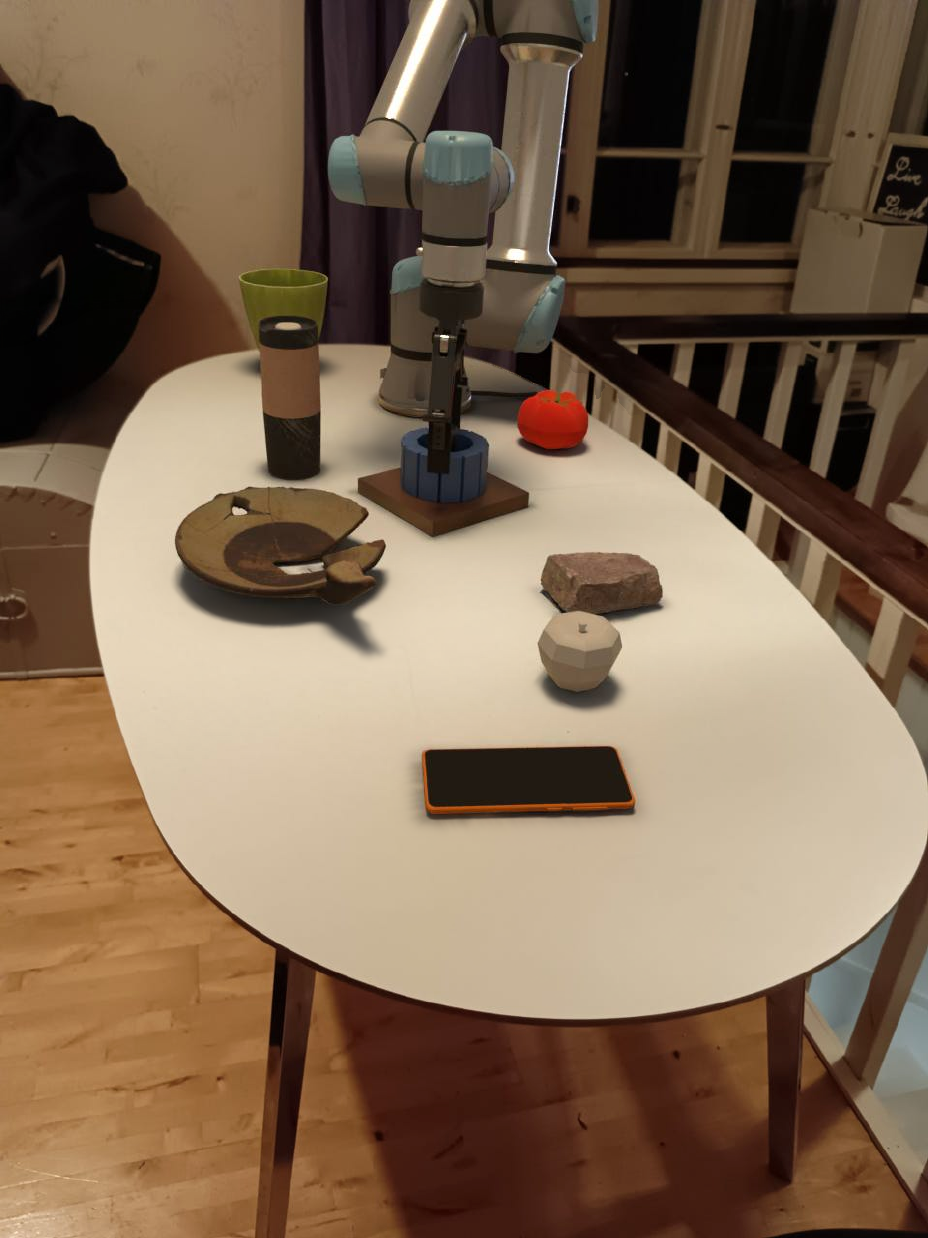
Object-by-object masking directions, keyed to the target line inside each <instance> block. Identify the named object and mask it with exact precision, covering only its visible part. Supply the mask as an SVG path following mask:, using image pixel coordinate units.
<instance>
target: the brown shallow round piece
mask: <svg viewBox="0 0 928 1238" xmlns="http://www.w3.org/2000/svg"><path fill="white" fill-rule="evenodd" d="M234 508H237V509H238V510H240V509H242V510H244V511H245V512H246V513H244V514H234V513H233V509H234ZM369 515H370V512H369V510H368V509H367V508H366V507H365V506H362V505H360V504H359V503H358V502H356V501H354V500H352V499H351V498H347V497H343V496H342V495H339V494H337V493H335V492H333V491H327V490H322V489H317V488H308V487H307V488H306V487H303V488H301V487H293V486H290V487H285V486H274V487H273V486H272V487H271V486H267V487H256V486H247V487H245V488H243V489H239V490H237V491H235V492H232V491H231V492H227V493H222V492H220V493H217V494H216V495H215V496H213V498H212V499H211V500H209V501H207V502H205V503H203V504H201V505H199V506H198V507H196V508H195V509H193V510H192V511H191V512H189V513H187V515H186V516H185V517H184V518H183V519H182V520H181V522H180V524H179V525H178V527H177V529H176V531H175V535H174V546H175V551H176V554H177V556H178V558H179V559H180V561H181V563H182V564H183V566H185V567H186V569H187V570H188V571H189V572H190V573H191V574H192V575H193V576H195V577H197V578H198V579H199V580H201V581H202V582H204V583H206V584H208V585H211V586H213V587H215V588H217V589H221V590H224V591H226V592H227V591H228V592H231V593H234V594H238V595H239V594H240V595H244V596H245V595H246V596H251V597H259V598H282V599H283V598H284V599H285V598H286V599H288V598H291V599H292V598H294V599H296V598H297V599H301V598H318V599H320V600H322V601H324V602H325V603H327V604H329V605H331V606H342V605H345V604H349V602H351V601H352V600H354V599H355V598H357V597H359V596H361V595H363V594H365V593H366V592H368V591H370V590H371V589H372V588H374V587H375V586H376V585H377V581H376V579H375V578H374V577H373V576H371V575H367V573H369V572H370V571H372V570H373V569H374V568H375V567H376V566H377V565H378V564H379V562H380V561H381V559H382V558H383V556H384V554H385V550H386V548H387V544H386V542H385V540H384V539H383V538H382V539H377V540H374V541H371V542H368V541H367V542H366V543H364V544H362V545H358V546H353V547H350V548H347V549H344V550H339V551H336V552H332V553H330V552H331V551H333V550H334V548H335V547H336V546H338V545H340V544H341V543H343V542H344V541H345V540H346V539H347V537H349V536H350V535H351V534H352V533H353V532H354V531H355V530H356V529H358V528H359V527H360V526H361V525H362V524H363V523H364V522H365V521H366V520H367V518H368V517H369ZM320 558H321V561H322V564H323V566H324V568H325V569H321V570H317V571H313V570H312V569H311V568H309V567H307V569H308V570H310V571H311V572H301V573H296V574H295V573H293V574H291V573H287V572H285V571H284V570H283V569H282V568H281V567H278V566H277V565H275V564H276V563H277V564H278V563H280V564H282V563H300V562H308V561H312V560H314V559H320Z"/></svg>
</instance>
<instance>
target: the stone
mask: <svg viewBox="0 0 928 1238" xmlns="http://www.w3.org/2000/svg"><path fill="white" fill-rule="evenodd" d="M659 574H660V573H659V570H658V568H657V567H656V565H654V564H651V562H650V561H648V560H647V559H645V558H643V557H641V555H639V554H633V553H628V552H601V551H597V552H594V551H588V552H587V551H586V552H573V553H571V552H570V553H558V554H555V553H554V554H552V555H551V554H549V555H548V556H547V558H546V561H545V564H544V566H543V569H542V573H541V576H540V585H541V586H542V588H543V589H544V590H545V591H547V592H548V594H549V595H550V598H552V599H553V601H554V602H555V603H557V604H558V607H560V608H561V610H562V611H565V613H568V612H574V611H582V612H586V613H590V614H594V615H598V614H599V615H601V614H604V613H611V612H615V611H620V610H631V609H636V608H641V607H647V606H656V605H657V604H659V603H660V602H661V600H662V598H663V595H664V594H663V593H664V588H663V585H662V584H661V581H660V575H659Z"/></svg>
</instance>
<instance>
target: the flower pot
mask: <svg viewBox="0 0 928 1238" xmlns="http://www.w3.org/2000/svg"><path fill="white" fill-rule="evenodd" d="M328 282H329V278H328V277H327V276H326V275H325V274H323V273H320V272H318V271H317V272H316V271H313V270H312V271H311V270H306V269H295V268H265V269H262V268H261V269H256V270H250V271H246V272H242V273H241V274H240V275H239V276H238V283H239V288H240V292H241V297H242V302H243V305H244V310H245V313H246V318H247V320H248V323H249V327H250V330H251V333H252V336H253V339H254V341H255V345H256V347H257V350H258V352H259V353H260V346H259V327H258V323H259V321H260V320H261V319H264V318H267V317H272V316H283V315H290V316H302V317H307V318H311V319H313V320H315V321H316V322H317V324H318V341H319V340H320V336H321V331H322V326H323V321H324V316H325V311H326V310H325V309H326V301H327V291H328Z"/></svg>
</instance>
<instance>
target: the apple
mask: <svg viewBox="0 0 928 1238" xmlns="http://www.w3.org/2000/svg"><path fill="white" fill-rule="evenodd" d="M537 647H538V652H539V656H540V657H539V658H540V661H541V663H542V665H543V667H544V669H545V671H546V673H547V675H549V677H550V678H551V680H552V681H553V682H554V684H556V686H557V687H559V688H560V689H564V690H566V691H570V692H574V693H580V692H584V691H585V692H586V691H590V690H593V689H595V688H597V687H599V685H600V684H601V683H602V682H603V681H604V680H606V678H607V676H608V674H609V673H610V671H611V669H612V668H613V665H614V663H615V662H616V660H617V658H618V656H619V654H620V652H621V650H622V648H623V644H622V637H621V633H620V631H619V630H618V629H617V628H616V626H613V624H612V623H611V622H610V621H609V620H608V619H607V618H606V617H605V616H601V615H598V614H596V615H594V614H590V613H586V612H582V611H574V612H568V613H567V612H563V613H557V614H554V615H552V616H551V618H550V620H549V621H548V622H547V624H546V625H545V627H544V628H543V630H542V632H541V634H540V637H539V639H538V641H537Z"/></svg>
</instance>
